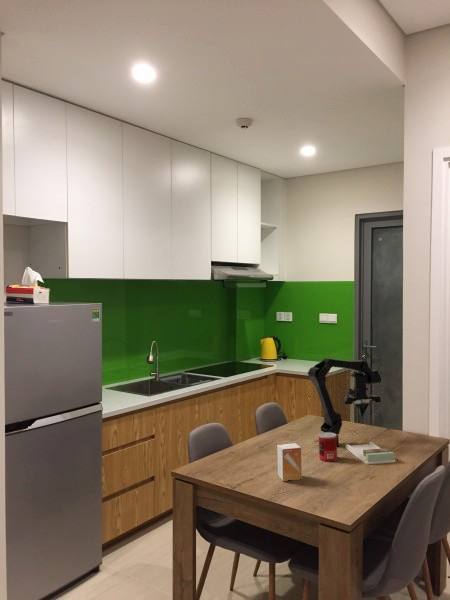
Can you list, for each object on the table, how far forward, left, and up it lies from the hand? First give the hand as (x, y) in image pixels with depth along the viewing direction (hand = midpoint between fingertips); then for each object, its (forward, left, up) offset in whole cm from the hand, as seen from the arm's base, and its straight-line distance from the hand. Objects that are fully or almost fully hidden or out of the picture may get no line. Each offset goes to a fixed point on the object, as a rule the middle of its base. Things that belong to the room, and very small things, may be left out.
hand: (361, 416), depth 252 cm
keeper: (-6, -29, -11) cm, 31 cm away
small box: (-49, -42, -12) cm, 66 cm away
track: (-6, -21, -12) cm, 25 cm away
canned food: (-26, -23, -12) cm, 37 cm away
